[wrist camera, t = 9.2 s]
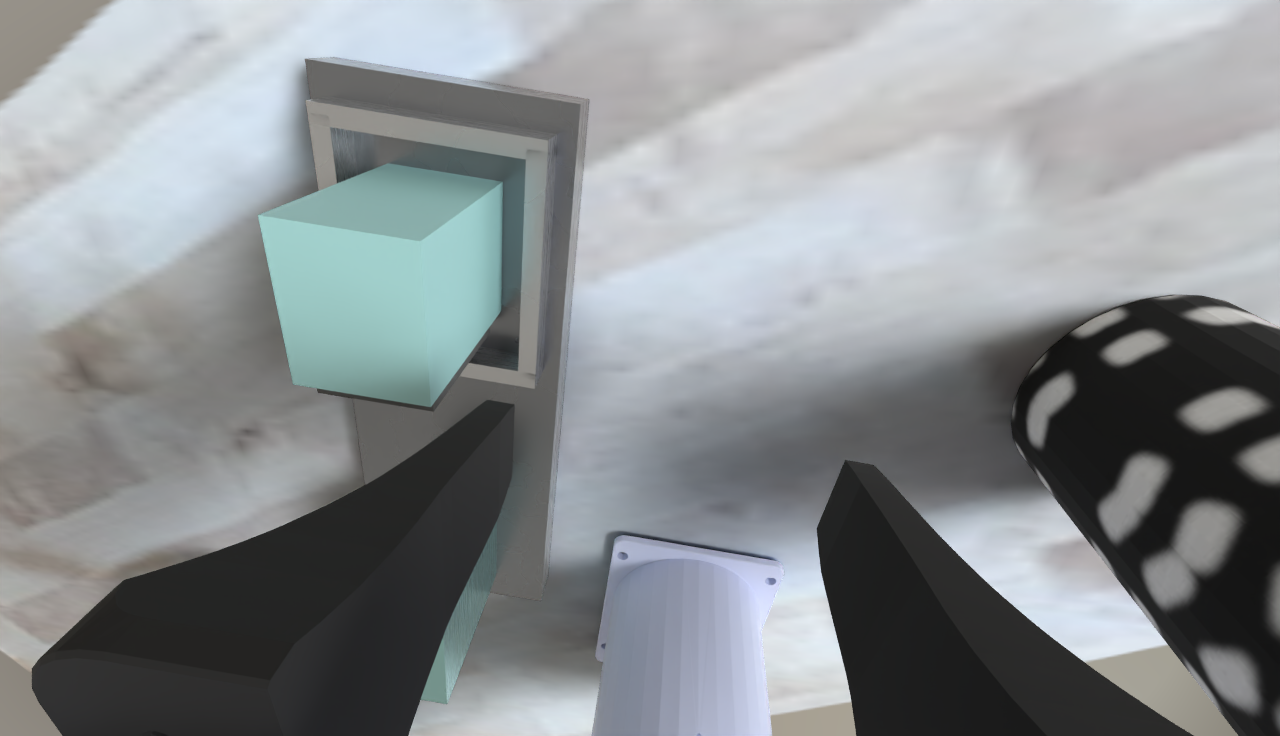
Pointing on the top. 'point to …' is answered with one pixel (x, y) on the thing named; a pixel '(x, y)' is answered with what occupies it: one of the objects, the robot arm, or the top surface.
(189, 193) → the top surface
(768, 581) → the robot arm
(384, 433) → the grey long flat piece
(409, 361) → the pale aqua cube
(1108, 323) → the white-spotted black cylinder
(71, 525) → the top surface
